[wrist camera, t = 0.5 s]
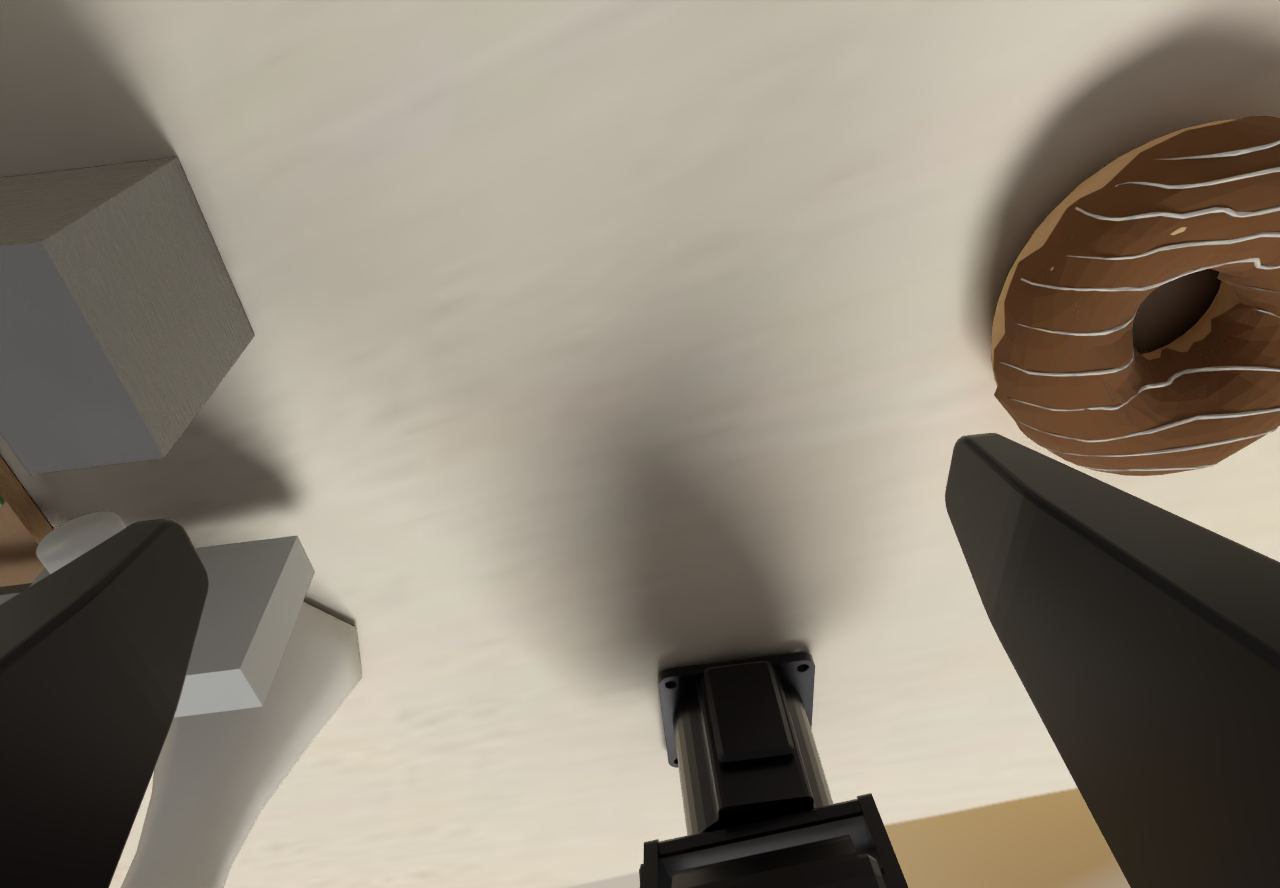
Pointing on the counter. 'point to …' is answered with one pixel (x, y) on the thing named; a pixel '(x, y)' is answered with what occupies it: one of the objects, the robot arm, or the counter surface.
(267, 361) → the counter surface
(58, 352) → the gauge housing
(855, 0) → the counter surface
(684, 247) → the counter surface
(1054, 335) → the donut
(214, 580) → the gauge plunger
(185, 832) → the flask
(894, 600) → the counter surface
